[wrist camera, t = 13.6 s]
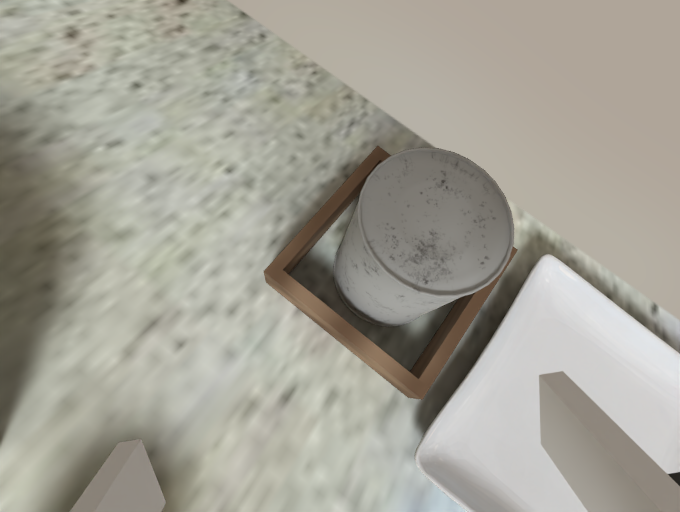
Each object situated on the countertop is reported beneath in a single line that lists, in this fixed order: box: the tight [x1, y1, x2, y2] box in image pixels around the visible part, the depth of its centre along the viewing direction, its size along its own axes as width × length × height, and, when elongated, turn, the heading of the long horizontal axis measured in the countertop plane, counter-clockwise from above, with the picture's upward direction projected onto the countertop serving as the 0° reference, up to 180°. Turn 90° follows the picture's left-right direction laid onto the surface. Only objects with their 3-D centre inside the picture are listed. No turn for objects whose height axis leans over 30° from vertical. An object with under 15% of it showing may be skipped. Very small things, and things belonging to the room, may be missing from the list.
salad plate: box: [415, 254, 680, 512], centre depth 31 cm, size 21×21×3 cm
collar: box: [264, 146, 517, 400], centre depth 32 cm, size 15×15×4 cm
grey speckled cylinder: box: [333, 147, 514, 326], centre depth 28 cm, size 10×10×12 cm
